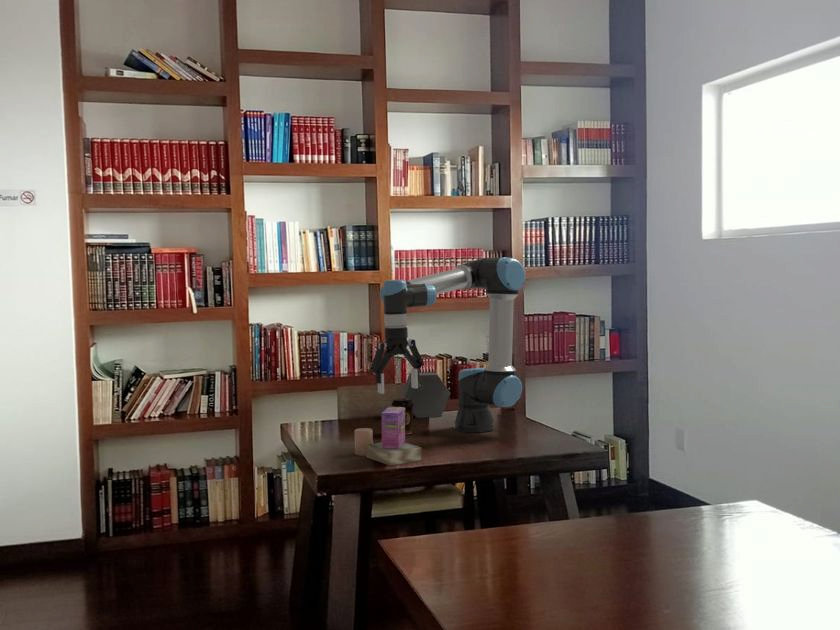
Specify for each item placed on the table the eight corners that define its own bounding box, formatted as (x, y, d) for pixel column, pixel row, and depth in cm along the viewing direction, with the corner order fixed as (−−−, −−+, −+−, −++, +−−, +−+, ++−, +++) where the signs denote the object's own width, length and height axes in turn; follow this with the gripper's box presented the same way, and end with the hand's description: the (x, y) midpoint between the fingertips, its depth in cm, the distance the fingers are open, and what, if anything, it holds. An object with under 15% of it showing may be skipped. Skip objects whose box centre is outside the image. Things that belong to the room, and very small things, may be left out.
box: (399, 449, 262) (398, 412, 261) (381, 448, 263) (380, 412, 263) (405, 442, 272) (405, 406, 272) (389, 441, 273) (388, 406, 273)
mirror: (397, 451, 277) (397, 439, 277) (421, 459, 266) (421, 446, 266) (366, 457, 270) (366, 444, 270) (390, 465, 259) (390, 452, 259)
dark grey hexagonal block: (453, 401, 347) (426, 361, 343) (457, 404, 339) (430, 363, 336) (420, 425, 344) (393, 385, 341) (424, 428, 337) (396, 388, 333)
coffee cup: (412, 436, 301) (411, 401, 300) (389, 435, 303) (389, 400, 302) (415, 431, 310) (415, 397, 309) (394, 430, 311) (393, 396, 310)
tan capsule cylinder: (366, 450, 280) (366, 427, 279) (376, 453, 275) (376, 430, 274) (351, 453, 276) (351, 429, 276) (361, 456, 271) (360, 432, 271)
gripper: (419, 322, 282) (421, 384, 283) (357, 329, 267) (360, 394, 269) (432, 324, 276) (434, 387, 277) (370, 330, 261) (372, 396, 263)
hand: (398, 390), depth 273 cm, fingers open, 13 cm apart
